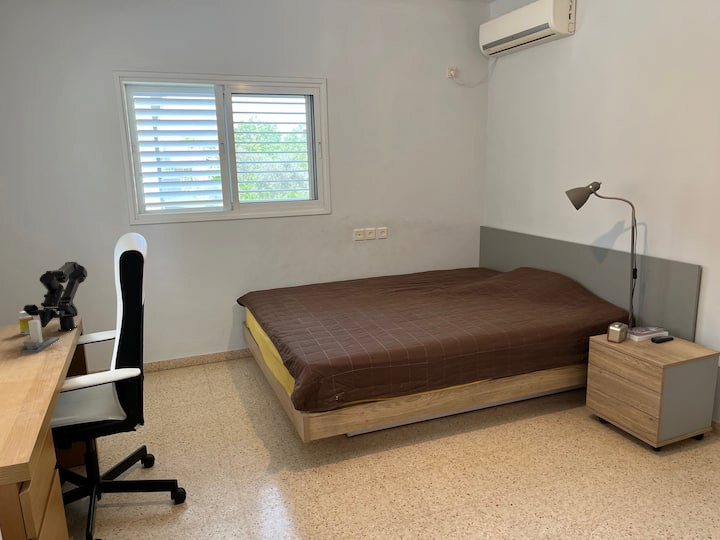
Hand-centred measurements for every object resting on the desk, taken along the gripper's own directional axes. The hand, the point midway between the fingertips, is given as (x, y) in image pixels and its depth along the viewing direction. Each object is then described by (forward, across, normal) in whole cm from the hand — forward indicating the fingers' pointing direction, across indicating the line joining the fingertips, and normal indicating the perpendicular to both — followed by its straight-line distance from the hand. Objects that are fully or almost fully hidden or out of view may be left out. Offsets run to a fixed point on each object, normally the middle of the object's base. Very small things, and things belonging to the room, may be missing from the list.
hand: (42, 327), depth 215 cm
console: (+8, 0, -3) cm, 8 cm away
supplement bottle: (-6, +17, -17) cm, 25 cm away
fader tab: (+8, 0, 0) cm, 8 cm away
